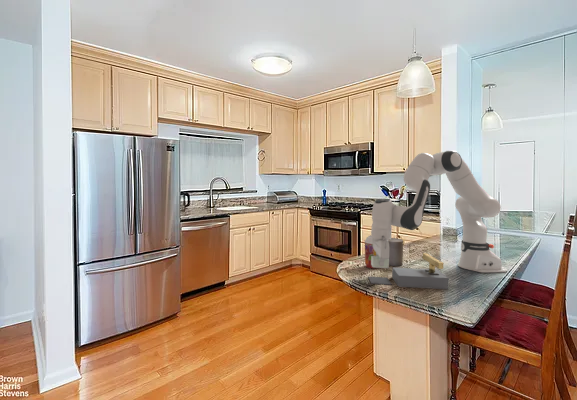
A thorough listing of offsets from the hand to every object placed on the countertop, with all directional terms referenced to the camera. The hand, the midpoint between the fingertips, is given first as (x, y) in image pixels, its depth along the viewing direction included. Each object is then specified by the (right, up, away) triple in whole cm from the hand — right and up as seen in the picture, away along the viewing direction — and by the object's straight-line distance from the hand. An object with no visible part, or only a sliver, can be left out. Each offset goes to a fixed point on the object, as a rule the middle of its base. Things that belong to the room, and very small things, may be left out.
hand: (379, 263), depth 140 cm
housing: (+17, -9, -1) cm, 20 cm away
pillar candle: (+16, -6, +29) cm, 34 cm away
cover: (0, -1, 0) cm, 1 cm away
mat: (0, -8, +1) cm, 8 cm away
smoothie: (+2, -7, +22) cm, 24 cm away
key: (+23, -4, -2) cm, 23 cm away
